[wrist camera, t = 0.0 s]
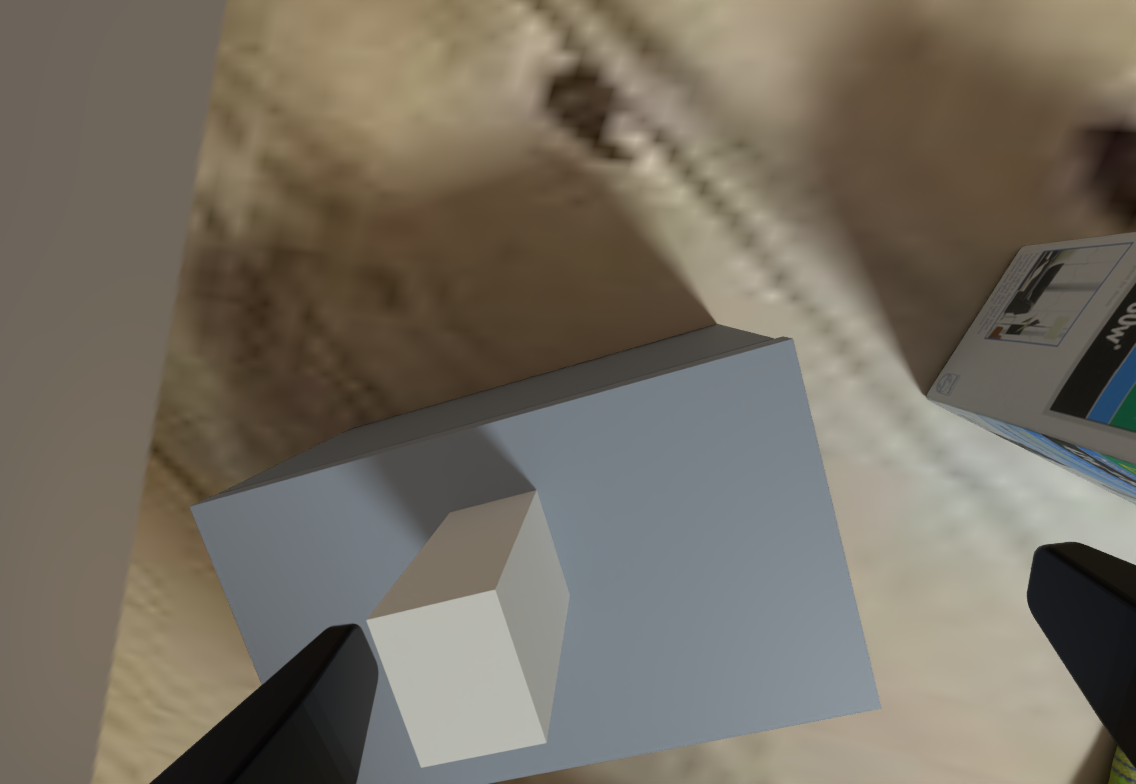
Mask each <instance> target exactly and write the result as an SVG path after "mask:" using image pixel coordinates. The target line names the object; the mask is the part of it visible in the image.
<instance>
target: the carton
mask: <svg viewBox="0 0 1136 784" xmlns="http://www.w3.org/2000/svg"><path fill="white" fill-rule="evenodd" d="M772 339H774V338H770V337H766V336H763V335H759V334H755V333H751V332H747V331H743V330H739V329H735V328H731V327H727V326H723V325H719V324H716V325H713V326H709V327H706V328H702V329H699V330H695V331H692V332H688V333H685V334H681V335H678V336H674V337H671V338H667V339H664V340H660V341H657V342H653V343H650V344H646V345H643V346H639V347H636V348H632V349H629V350H625V351H622V352H618V353H615V354H611V355H608V356H604V357H601V358H597V359H594V360H590V361H587V362H583V363H580V364H576V365H573V366H569V367H566V368H562V369H559V370H555V371H552V372H548V373H545V374H542V375H538V376H535V377H531V378H528V379H524V380H521V381H517V382H514V383H510V384H507V385H503V386H500V387H496V388H493V389H489V390H486V391H482V392H479V393H475V394H472V395H468V396H465V397H461V398H458V399H454V400H451V401H447V402H444V403H440V404H437V405H433V406H430V407H426V408H423V409H419V410H416V411H412V412H409V413H405V414H402V415H398V416H395V417H391V418H388V419H384V420H381V421H377V422H374V423H370V424H367V425H364V426H360V427H357V428H353V429H350V430H347V431H345V432H343V433H341V434H339V435H337V436H335V437H333V438H331V439H329V440H327V441H325V442H323V443H321V444H319V445H317V446H315V447H313V448H311V449H309V450H306V451H304V452H302V453H300V454H298V455H296V456H294V457H292V458H290V459H288V460H286V461H284V462H282V463H280V464H278V465H276V466H274V467H272V468H270V469H268V470H266V471H264V472H262V473H260V474H258V475H256V476H254V477H251V478H249V479H247V480H245V481H243V482H241V483H239V484H237V485H235V486H233V487H231V488H229V489H227V490H225V491H223V492H221V493H225V492H228V491H232V490H236V489H239V488H243V487H246V486H250V485H253V484H257V483H261V482H264V481H268V480H271V479H275V478H278V477H282V476H286V475H289V474H293V473H296V472H300V471H304V470H307V469H311V468H314V467H318V466H321V465H325V464H329V463H332V462H336V461H339V460H343V459H346V458H350V457H354V456H357V455H361V454H364V453H368V452H372V451H375V450H379V449H382V448H386V447H389V446H393V445H397V444H400V443H404V442H407V441H411V440H414V439H418V438H422V437H425V436H429V435H432V434H436V433H439V432H443V431H447V430H450V429H454V428H457V427H461V426H465V425H468V424H472V423H475V422H479V421H482V420H486V419H490V418H493V417H497V416H500V415H504V414H507V413H511V412H515V411H518V410H522V409H525V408H529V407H533V406H536V405H540V404H543V403H547V402H550V401H554V400H558V399H561V398H565V397H568V396H572V395H575V394H579V393H583V392H586V391H590V390H593V389H597V388H601V387H604V386H608V385H611V384H615V383H618V382H622V381H626V380H629V379H633V378H636V377H640V376H643V375H647V374H651V373H654V372H658V371H661V370H665V369H669V368H672V367H676V366H679V365H683V364H686V363H690V362H694V361H697V360H701V359H704V358H708V357H711V356H715V355H719V354H722V353H726V352H729V351H733V350H736V349H740V348H744V347H747V346H751V345H754V344H758V343H762V342H765V341H769V340H772ZM221 493H219V494H221Z"/></svg>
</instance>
